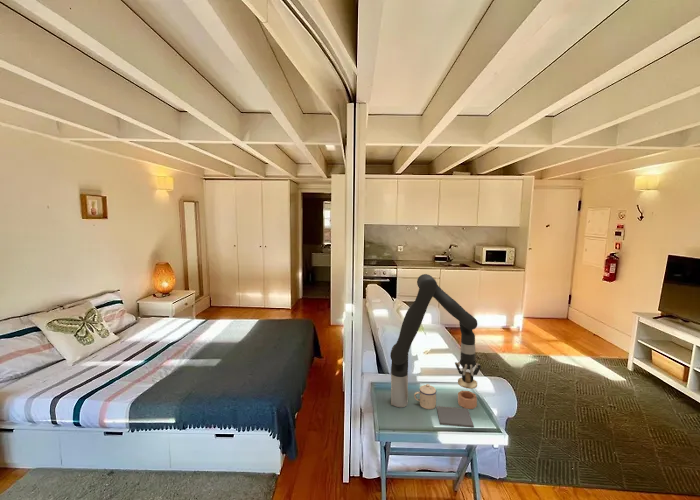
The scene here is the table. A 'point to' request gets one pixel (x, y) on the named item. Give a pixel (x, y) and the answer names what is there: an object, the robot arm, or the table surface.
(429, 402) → the teacup with lid
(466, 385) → the lid
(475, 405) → the bowl
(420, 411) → the table surface
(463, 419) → the mat
